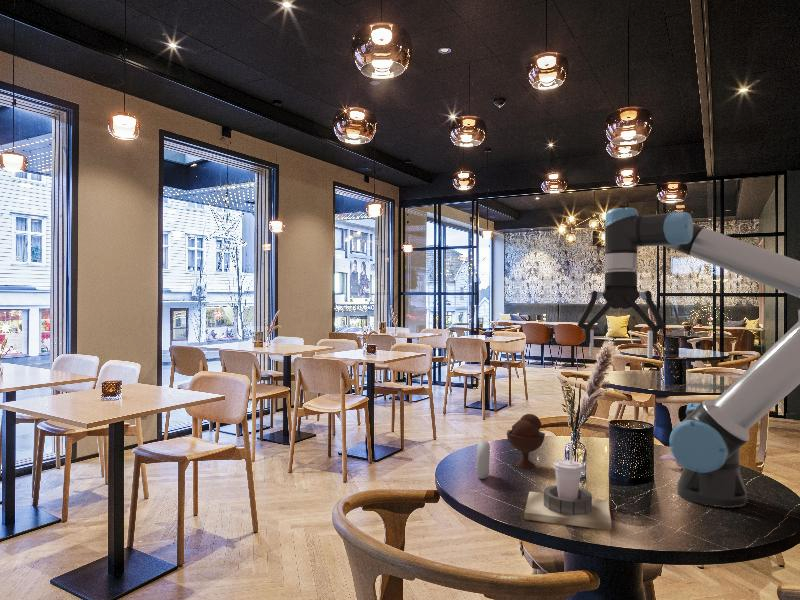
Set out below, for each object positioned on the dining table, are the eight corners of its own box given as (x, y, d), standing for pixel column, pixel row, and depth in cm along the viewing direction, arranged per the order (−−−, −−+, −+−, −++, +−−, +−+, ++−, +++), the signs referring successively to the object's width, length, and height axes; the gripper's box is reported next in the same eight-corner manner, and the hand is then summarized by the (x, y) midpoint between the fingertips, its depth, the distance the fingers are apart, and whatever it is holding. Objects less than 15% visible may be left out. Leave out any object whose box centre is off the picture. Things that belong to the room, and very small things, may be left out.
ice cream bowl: (515, 458, 171) (515, 408, 171) (550, 465, 165) (551, 413, 165) (499, 466, 163) (500, 414, 163) (536, 474, 156) (537, 420, 156)
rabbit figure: (711, 473, 164) (656, 460, 167) (715, 453, 164) (660, 441, 167) (718, 480, 158) (661, 467, 161) (722, 459, 157) (665, 446, 161)
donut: (489, 484, 147) (489, 446, 147) (475, 483, 148) (476, 445, 148) (489, 472, 157) (490, 436, 157) (477, 471, 158) (477, 436, 158)
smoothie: (583, 512, 125) (584, 449, 125) (553, 510, 126) (554, 447, 126) (580, 502, 131) (581, 442, 131) (551, 500, 133) (552, 440, 132)
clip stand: (607, 506, 133) (607, 487, 133) (611, 530, 120) (611, 509, 119) (529, 497, 138) (529, 479, 138) (524, 519, 125) (524, 498, 125)
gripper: (672, 271, 141) (672, 356, 141) (568, 272, 147) (567, 353, 147) (679, 270, 134) (678, 359, 134) (568, 271, 140) (568, 356, 140)
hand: (620, 356), depth 141 cm, fingers open, 13 cm apart
